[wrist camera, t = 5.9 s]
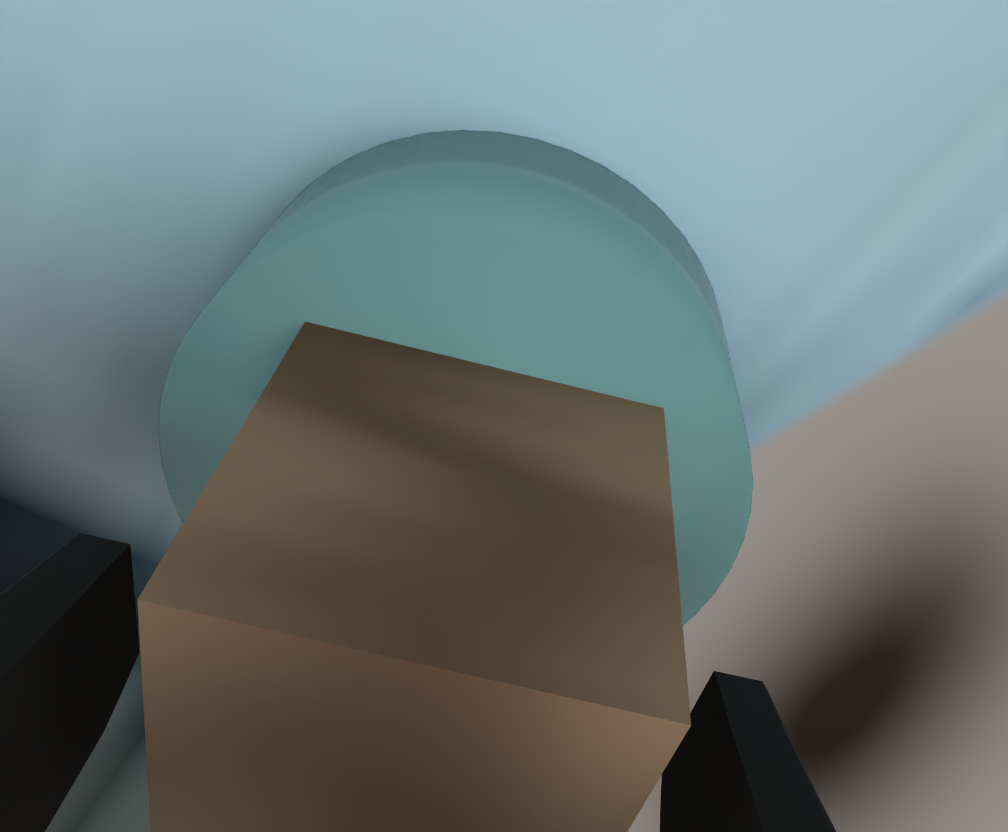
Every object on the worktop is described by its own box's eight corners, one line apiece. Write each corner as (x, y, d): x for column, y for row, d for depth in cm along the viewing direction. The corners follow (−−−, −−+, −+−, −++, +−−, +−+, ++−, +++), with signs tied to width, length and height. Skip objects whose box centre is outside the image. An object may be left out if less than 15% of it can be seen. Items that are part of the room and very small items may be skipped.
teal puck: (241, 483, 19) (163, 624, 15) (261, 63, 13) (149, 142, 10) (636, 575, 19) (642, 731, 16) (805, 202, 14) (865, 322, 11)
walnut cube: (282, 571, 14) (152, 870, 10) (305, 320, 11) (137, 599, 7) (569, 637, 15) (553, 955, 11) (663, 407, 12) (690, 724, 8)
